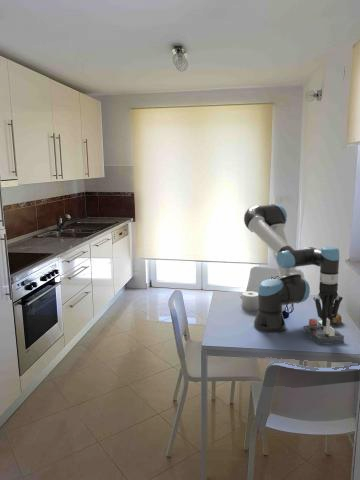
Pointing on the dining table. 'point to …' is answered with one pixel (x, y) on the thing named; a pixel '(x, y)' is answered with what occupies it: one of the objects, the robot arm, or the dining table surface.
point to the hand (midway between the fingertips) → (326, 332)
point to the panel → (322, 335)
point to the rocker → (321, 323)
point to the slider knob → (331, 332)
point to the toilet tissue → (250, 301)
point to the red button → (312, 322)
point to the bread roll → (336, 320)
